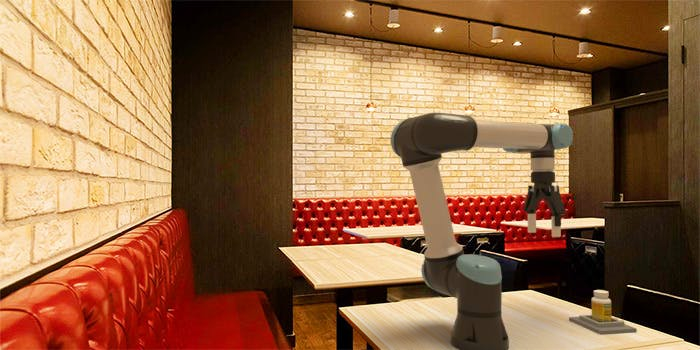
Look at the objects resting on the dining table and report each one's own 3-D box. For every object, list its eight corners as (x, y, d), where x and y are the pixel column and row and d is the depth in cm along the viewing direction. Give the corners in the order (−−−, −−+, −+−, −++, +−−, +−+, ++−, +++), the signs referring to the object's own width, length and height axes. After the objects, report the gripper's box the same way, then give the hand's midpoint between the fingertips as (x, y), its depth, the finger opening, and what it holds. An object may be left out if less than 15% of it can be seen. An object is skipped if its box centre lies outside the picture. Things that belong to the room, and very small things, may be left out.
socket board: (600, 334, 131) (600, 326, 131) (569, 320, 145) (568, 313, 145) (636, 332, 134) (636, 324, 134) (602, 318, 147) (602, 311, 147)
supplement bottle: (597, 319, 143) (597, 288, 143) (615, 323, 139) (614, 291, 139) (588, 322, 140) (587, 290, 140) (606, 326, 136) (605, 294, 136)
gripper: (577, 169, 141) (578, 238, 140) (531, 172, 165) (532, 230, 165) (555, 169, 140) (556, 239, 139) (512, 172, 164) (513, 231, 164)
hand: (543, 234), depth 152 cm, fingers open, 13 cm apart
